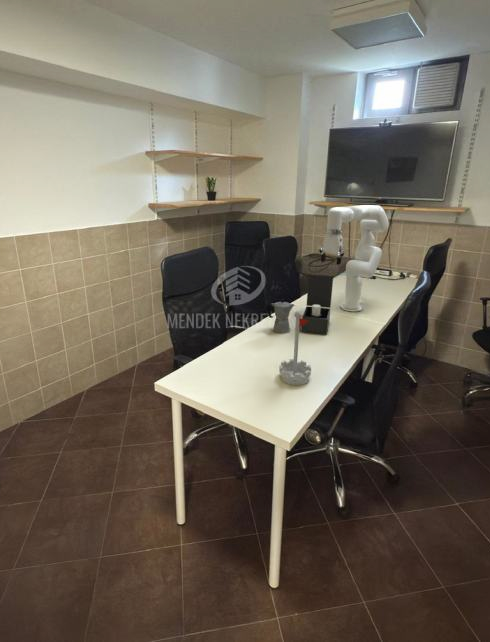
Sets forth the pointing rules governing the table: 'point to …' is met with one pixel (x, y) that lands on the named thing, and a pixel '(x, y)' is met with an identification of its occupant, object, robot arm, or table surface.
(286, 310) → the coffeepot
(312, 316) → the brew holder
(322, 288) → the lid
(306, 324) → the coffee maker
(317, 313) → the cylinder
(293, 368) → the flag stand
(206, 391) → the table surface
